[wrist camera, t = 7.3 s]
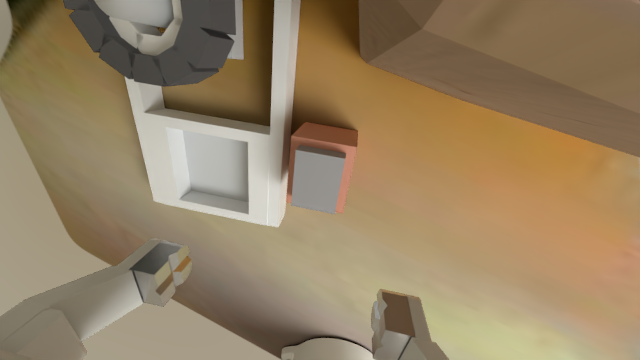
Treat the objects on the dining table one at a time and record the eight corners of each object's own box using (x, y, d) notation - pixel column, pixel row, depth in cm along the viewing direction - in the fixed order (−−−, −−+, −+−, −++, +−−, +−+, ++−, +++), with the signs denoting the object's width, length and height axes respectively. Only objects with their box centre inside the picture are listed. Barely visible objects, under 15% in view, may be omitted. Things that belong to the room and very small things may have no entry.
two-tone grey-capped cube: (346, 186, 24) (341, 221, 19) (299, 177, 24) (282, 209, 19) (357, 130, 21) (356, 152, 16) (305, 121, 22) (286, 140, 16)
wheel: (237, 91, 16) (215, 95, 14) (125, 72, 17) (85, 73, 15) (232, -82, 12) (200, -120, 10) (85, -97, 13) (21, -135, 11)
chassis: (284, 214, 27) (252, 276, 19) (170, 190, 28) (94, 240, 20) (303, -31, 17) (250, -121, 9) (123, -52, 18) (-67, -148, 10)
